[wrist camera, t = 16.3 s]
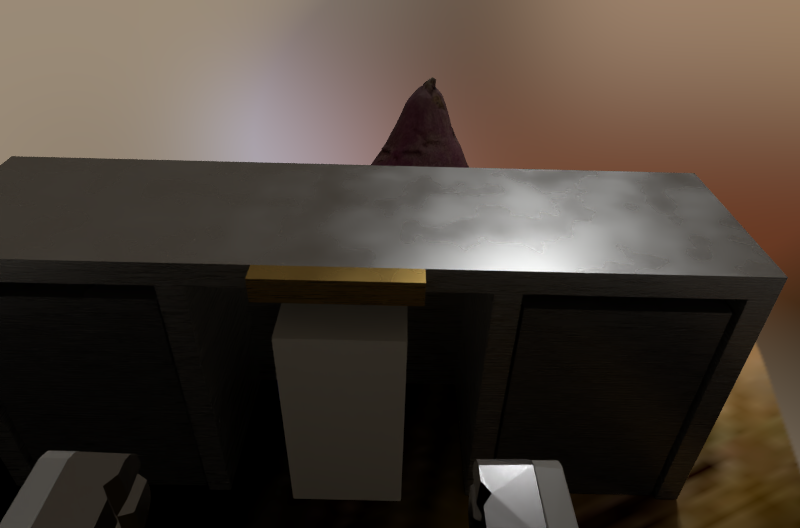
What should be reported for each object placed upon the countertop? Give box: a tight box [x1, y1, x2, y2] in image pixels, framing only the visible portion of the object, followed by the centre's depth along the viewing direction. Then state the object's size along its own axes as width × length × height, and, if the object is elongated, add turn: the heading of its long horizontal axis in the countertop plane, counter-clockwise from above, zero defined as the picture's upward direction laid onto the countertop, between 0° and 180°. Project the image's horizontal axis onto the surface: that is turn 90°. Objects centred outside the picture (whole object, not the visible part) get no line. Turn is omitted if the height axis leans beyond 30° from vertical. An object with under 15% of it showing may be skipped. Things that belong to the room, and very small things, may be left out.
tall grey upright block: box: [272, 303, 407, 501], centre depth 27 cm, size 5×6×10 cm
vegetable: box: [371, 78, 469, 168], centre depth 39 cm, size 10×10×15 cm
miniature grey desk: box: [0, 156, 788, 499], centre depth 27 cm, size 31×9×13 cm, turn 90°
